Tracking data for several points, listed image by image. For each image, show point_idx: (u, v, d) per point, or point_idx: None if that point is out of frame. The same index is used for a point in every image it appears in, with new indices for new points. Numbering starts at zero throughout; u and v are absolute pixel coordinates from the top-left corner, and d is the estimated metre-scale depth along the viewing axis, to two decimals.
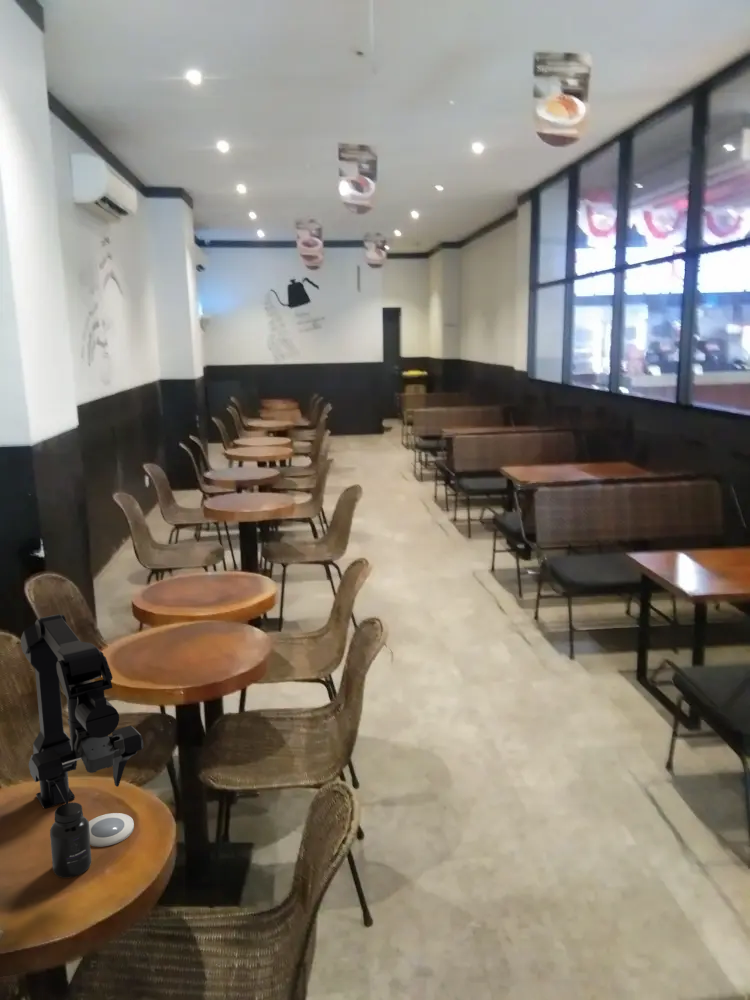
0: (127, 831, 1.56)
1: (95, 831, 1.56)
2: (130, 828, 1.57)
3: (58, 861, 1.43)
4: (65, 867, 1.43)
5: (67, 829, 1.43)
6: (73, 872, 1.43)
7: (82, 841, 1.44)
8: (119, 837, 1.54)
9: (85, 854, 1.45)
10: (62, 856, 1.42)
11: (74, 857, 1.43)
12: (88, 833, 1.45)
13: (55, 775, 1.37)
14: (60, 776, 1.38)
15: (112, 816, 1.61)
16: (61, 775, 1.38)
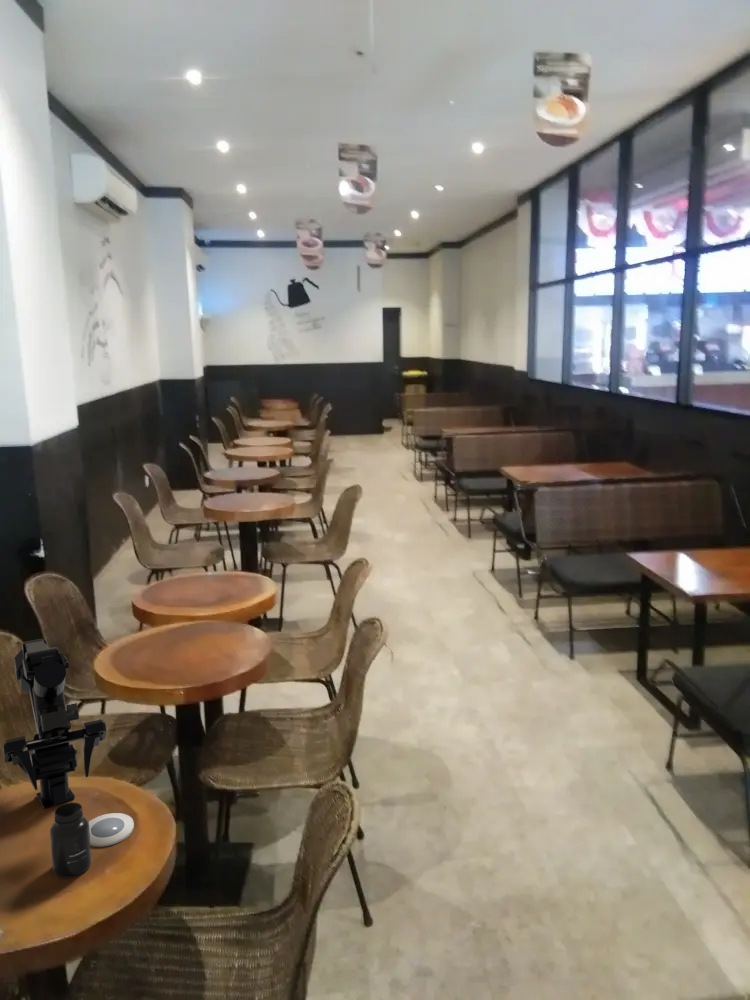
0: (127, 831, 1.56)
1: (95, 831, 1.56)
2: (130, 828, 1.57)
3: (58, 861, 1.43)
4: (65, 867, 1.43)
5: (67, 829, 1.43)
6: (73, 872, 1.43)
7: (81, 841, 1.44)
8: (119, 837, 1.54)
9: (85, 854, 1.45)
10: (62, 856, 1.42)
11: (74, 857, 1.43)
12: (88, 833, 1.45)
13: (18, 748, 1.49)
14: (24, 751, 1.49)
15: (112, 816, 1.61)
16: (25, 751, 1.49)
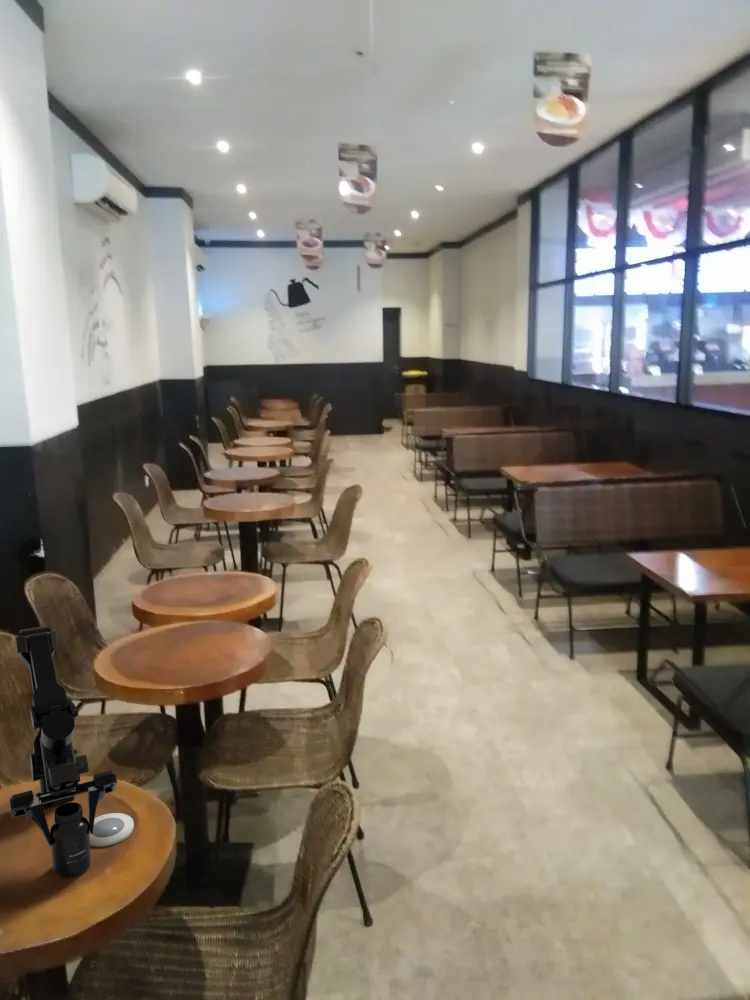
0: (127, 831, 1.56)
1: (95, 831, 1.56)
2: (130, 828, 1.57)
3: (58, 861, 1.43)
4: (65, 867, 1.43)
5: (67, 829, 1.42)
6: (73, 872, 1.43)
7: (81, 841, 1.44)
8: (119, 837, 1.54)
9: (85, 854, 1.45)
10: (62, 856, 1.42)
11: (74, 857, 1.43)
12: (88, 833, 1.45)
13: (26, 803, 1.42)
14: (38, 805, 1.43)
15: (112, 816, 1.61)
16: None
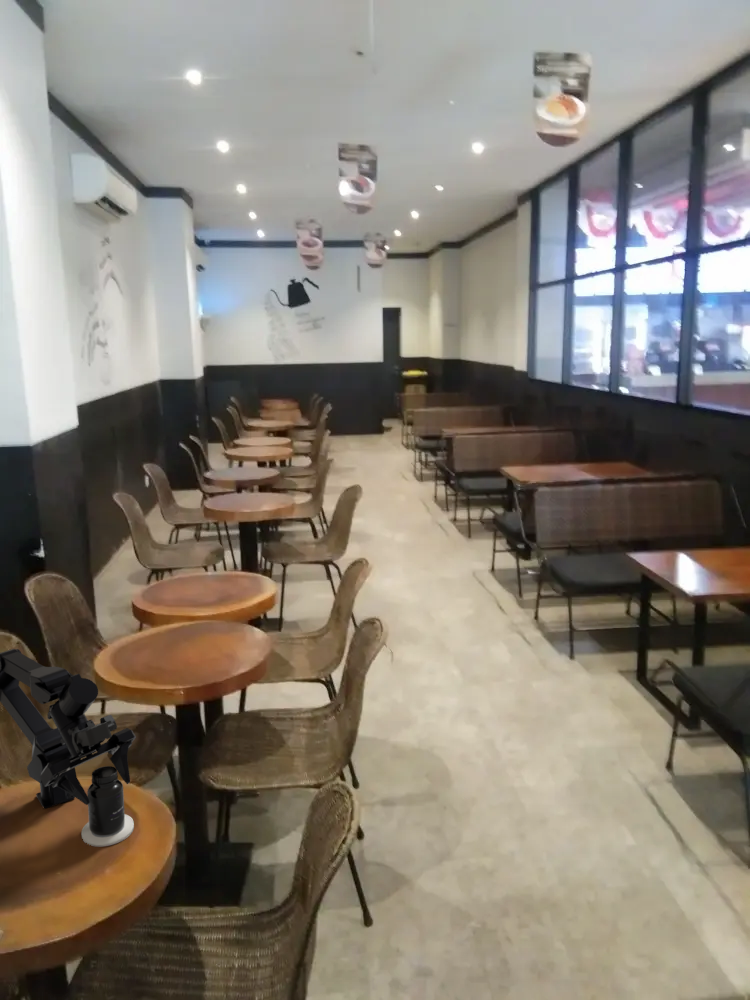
0: (127, 831, 1.56)
1: None
2: (130, 828, 1.57)
3: (102, 820, 1.53)
4: (108, 824, 1.54)
5: (108, 788, 1.54)
6: (116, 828, 1.55)
7: (121, 798, 1.56)
8: (119, 837, 1.54)
9: (123, 810, 1.57)
10: (106, 814, 1.53)
11: (117, 813, 1.55)
12: None
13: (65, 767, 1.50)
14: None
15: None
16: (71, 769, 1.51)
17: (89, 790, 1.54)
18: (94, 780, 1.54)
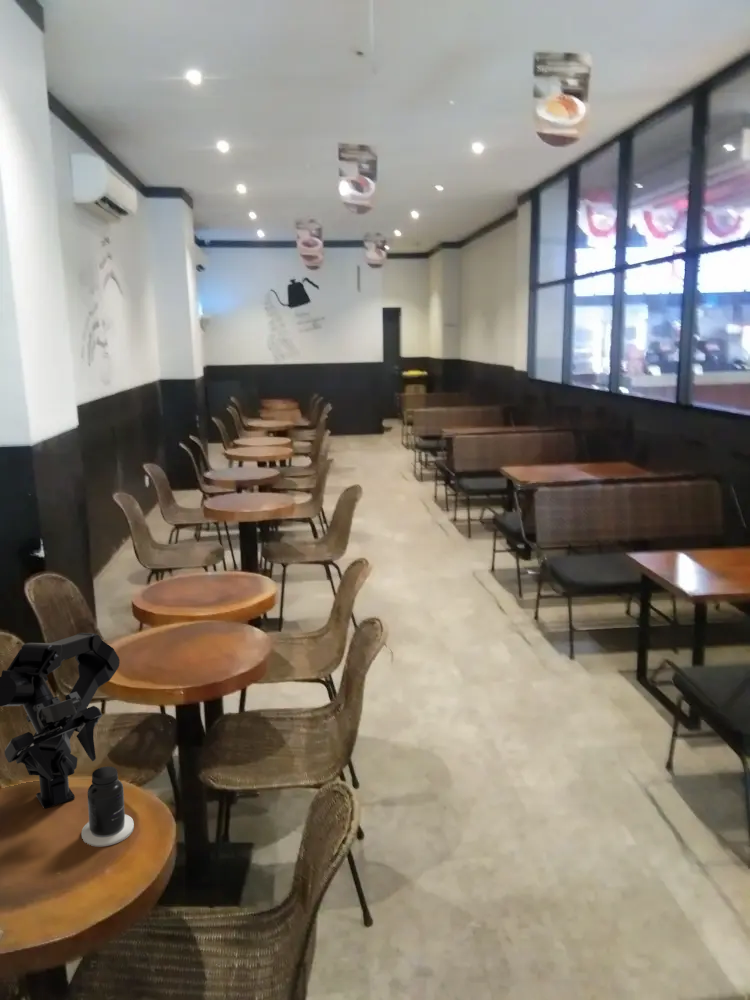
0: (127, 831, 1.56)
1: None
2: (130, 828, 1.57)
3: (102, 821, 1.53)
4: (109, 825, 1.54)
5: (109, 789, 1.54)
6: (116, 828, 1.55)
7: (122, 798, 1.56)
8: (119, 837, 1.54)
9: (123, 810, 1.57)
10: (107, 815, 1.53)
11: (117, 813, 1.55)
12: None
13: (29, 743, 1.50)
14: (34, 745, 1.51)
15: None
16: (35, 745, 1.51)
17: (89, 791, 1.54)
18: (94, 781, 1.53)
